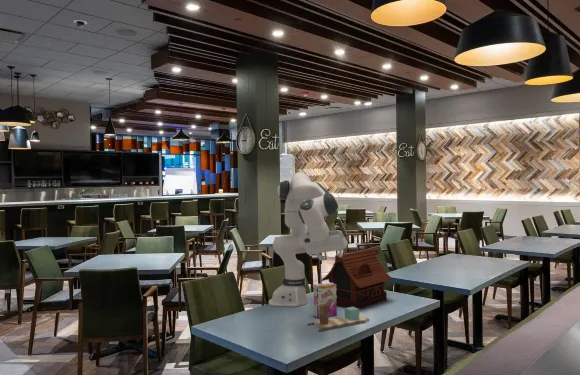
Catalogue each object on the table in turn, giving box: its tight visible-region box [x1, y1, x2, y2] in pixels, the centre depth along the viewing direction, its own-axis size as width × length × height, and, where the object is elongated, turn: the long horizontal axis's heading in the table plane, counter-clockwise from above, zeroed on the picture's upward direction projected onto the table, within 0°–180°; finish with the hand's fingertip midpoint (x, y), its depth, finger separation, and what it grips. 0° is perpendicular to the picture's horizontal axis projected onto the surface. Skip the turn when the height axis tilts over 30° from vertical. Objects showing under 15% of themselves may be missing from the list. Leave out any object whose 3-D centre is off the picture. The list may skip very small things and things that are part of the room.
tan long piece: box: [314, 304, 370, 329], centre depth 219 cm, size 26×9×10 cm, turn 117°
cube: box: [344, 307, 360, 321], centre depth 222 cm, size 5×5×5 cm
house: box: [320, 247, 393, 310], centre depth 258 cm, size 35×28×29 cm
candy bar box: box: [313, 282, 338, 319], centre depth 232 cm, size 11×5×16 cm, turn 111°
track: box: [306, 318, 367, 333], centre depth 218 cm, size 26×11×1 cm, turn 117°
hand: (331, 258), depth 210 cm, fingers open, 8 cm apart
